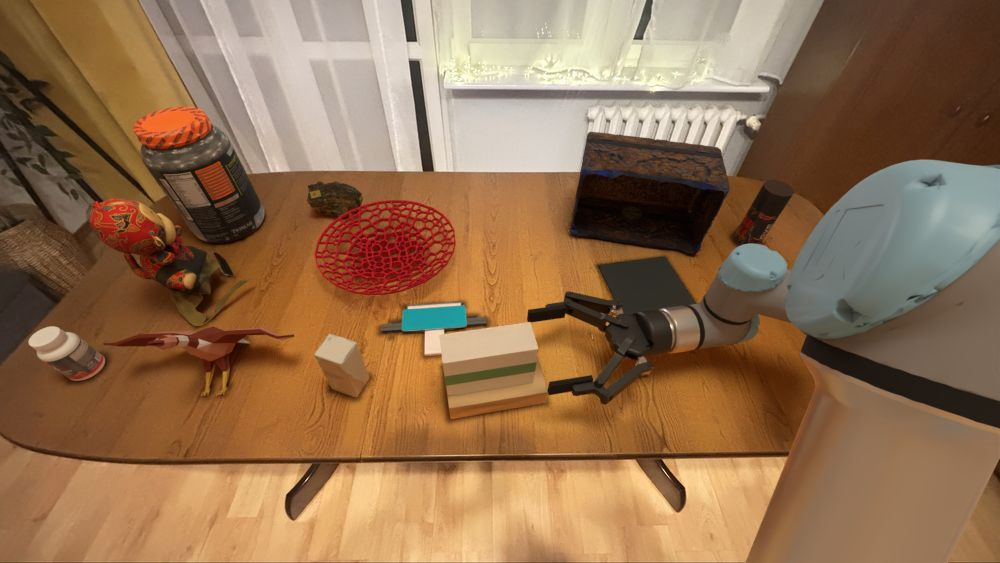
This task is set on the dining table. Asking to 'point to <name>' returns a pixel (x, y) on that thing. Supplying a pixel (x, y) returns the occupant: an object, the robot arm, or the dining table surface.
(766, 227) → the deodorant
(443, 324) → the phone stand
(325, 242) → the bowl
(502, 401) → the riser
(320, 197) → the rock
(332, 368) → the box
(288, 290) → the dining table surface
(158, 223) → the red patterned figure
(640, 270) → the mat
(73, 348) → the pill bottle
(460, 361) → the packet
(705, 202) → the decorative box
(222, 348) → the decorative bird
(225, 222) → the supplement tub
